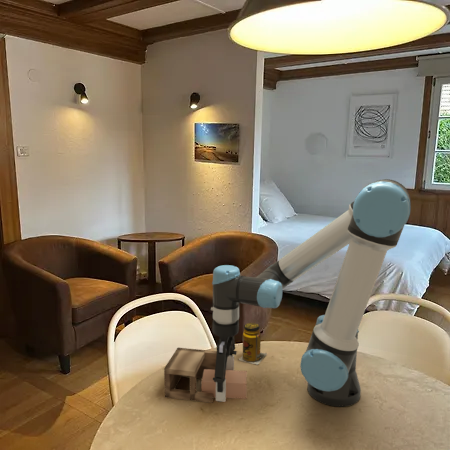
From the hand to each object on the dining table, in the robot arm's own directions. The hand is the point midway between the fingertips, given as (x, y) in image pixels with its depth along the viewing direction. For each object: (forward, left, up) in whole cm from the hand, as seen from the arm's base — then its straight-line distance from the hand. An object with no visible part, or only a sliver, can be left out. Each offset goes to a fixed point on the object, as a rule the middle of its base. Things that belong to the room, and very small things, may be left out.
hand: (225, 387), depth 123 cm
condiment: (-6, -22, -2) cm, 23 cm away
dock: (+9, 0, -1) cm, 10 cm away
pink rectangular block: (0, 0, -2) cm, 2 cm away
